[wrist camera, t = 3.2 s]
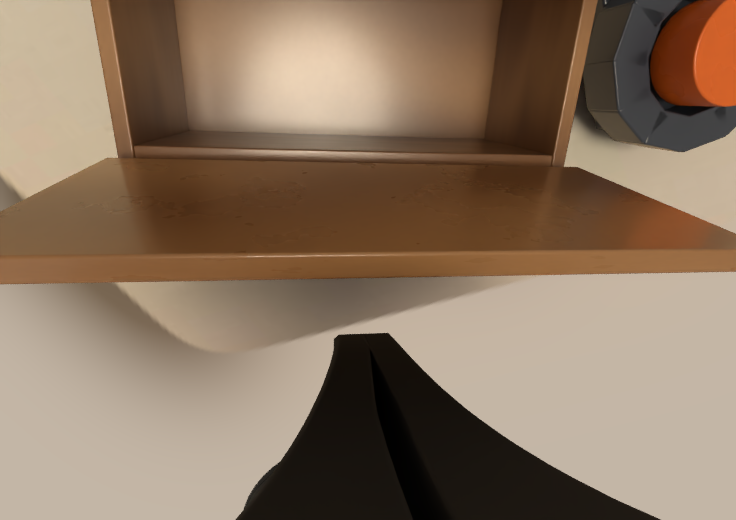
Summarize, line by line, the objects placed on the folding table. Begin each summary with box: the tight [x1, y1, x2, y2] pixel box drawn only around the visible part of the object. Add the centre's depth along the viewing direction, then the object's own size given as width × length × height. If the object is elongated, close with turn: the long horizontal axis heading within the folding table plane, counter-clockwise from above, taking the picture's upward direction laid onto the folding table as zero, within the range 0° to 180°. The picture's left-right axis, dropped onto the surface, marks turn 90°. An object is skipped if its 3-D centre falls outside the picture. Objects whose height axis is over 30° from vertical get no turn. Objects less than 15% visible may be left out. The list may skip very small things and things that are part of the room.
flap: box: [0, 158, 736, 284], centre depth 8 cm, size 5×12×1 cm
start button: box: [650, 0, 736, 107], centre depth 13 cm, size 3×3×2 cm
